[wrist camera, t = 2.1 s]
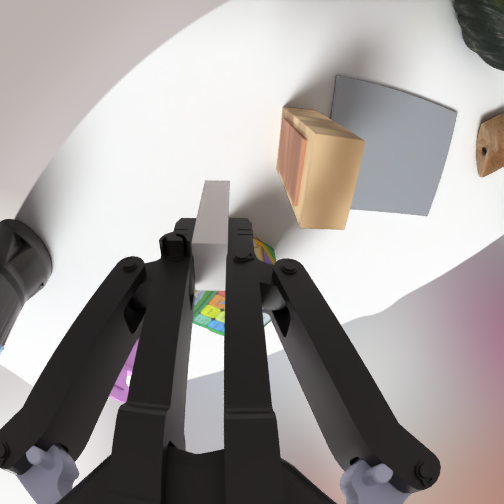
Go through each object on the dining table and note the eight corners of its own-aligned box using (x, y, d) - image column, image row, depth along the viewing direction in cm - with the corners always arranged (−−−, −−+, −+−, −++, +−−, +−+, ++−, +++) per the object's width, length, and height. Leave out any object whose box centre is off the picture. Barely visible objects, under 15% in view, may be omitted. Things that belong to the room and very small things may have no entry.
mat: (315, 205, 38) (316, 207, 37) (336, 74, 27) (337, 75, 26) (425, 214, 40) (427, 216, 39) (455, 112, 29) (457, 113, 28)
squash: (505, -22, 7) (537, -18, 2) (533, 60, 16) (566, 94, 10) (433, -19, 18) (440, -19, 12) (468, 59, 26) (482, 90, 21)
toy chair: (98, 336, 54) (81, 395, 42) (118, 324, 51) (102, 389, 39) (125, 354, 58) (114, 411, 46) (148, 344, 55) (138, 407, 44)
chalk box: (223, 219, 38) (221, 299, 26) (276, 248, 42) (293, 328, 30) (191, 263, 42) (180, 344, 31) (241, 286, 46) (245, 365, 34)
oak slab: (274, 168, 34) (296, 228, 23) (280, 106, 29) (311, 133, 18) (307, 170, 35) (344, 229, 23) (315, 110, 30) (365, 141, 19)
